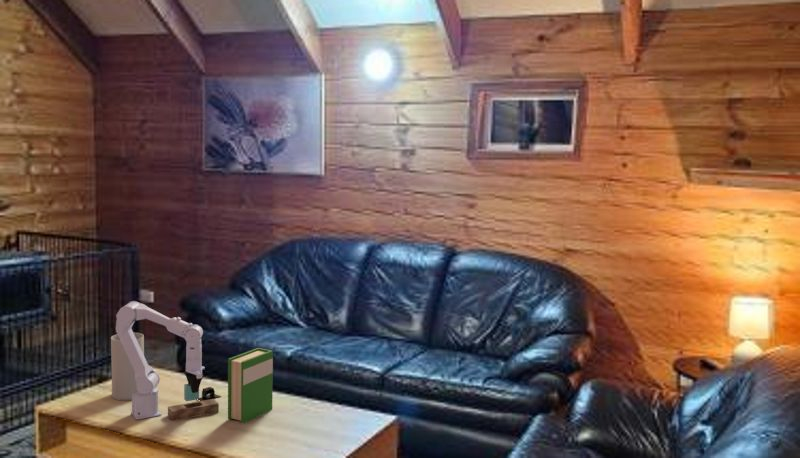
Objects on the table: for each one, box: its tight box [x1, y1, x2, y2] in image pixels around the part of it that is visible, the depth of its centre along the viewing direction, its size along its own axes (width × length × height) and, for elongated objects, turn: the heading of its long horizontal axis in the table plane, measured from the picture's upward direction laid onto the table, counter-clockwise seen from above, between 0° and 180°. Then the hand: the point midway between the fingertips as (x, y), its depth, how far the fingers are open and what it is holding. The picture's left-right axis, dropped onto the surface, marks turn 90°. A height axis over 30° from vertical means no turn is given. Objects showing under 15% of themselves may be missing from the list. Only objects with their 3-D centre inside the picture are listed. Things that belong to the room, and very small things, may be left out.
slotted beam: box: [167, 399, 220, 421], centre depth 278 cm, size 18×6×4 cm, turn 124°
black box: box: [198, 386, 222, 401], centre depth 295 cm, size 12×7×5 cm, turn 139°
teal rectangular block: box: [183, 383, 200, 402], centre depth 276 cm, size 5×2×6 cm, turn 123°
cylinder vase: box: [110, 332, 145, 401], centre depth 294 cm, size 12×12×25 cm
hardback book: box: [227, 347, 274, 424], centre depth 278 cm, size 18×7×24 cm, turn 152°
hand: (193, 391), depth 276 cm, fingers closed on teal rectangular block, 2 cm apart
